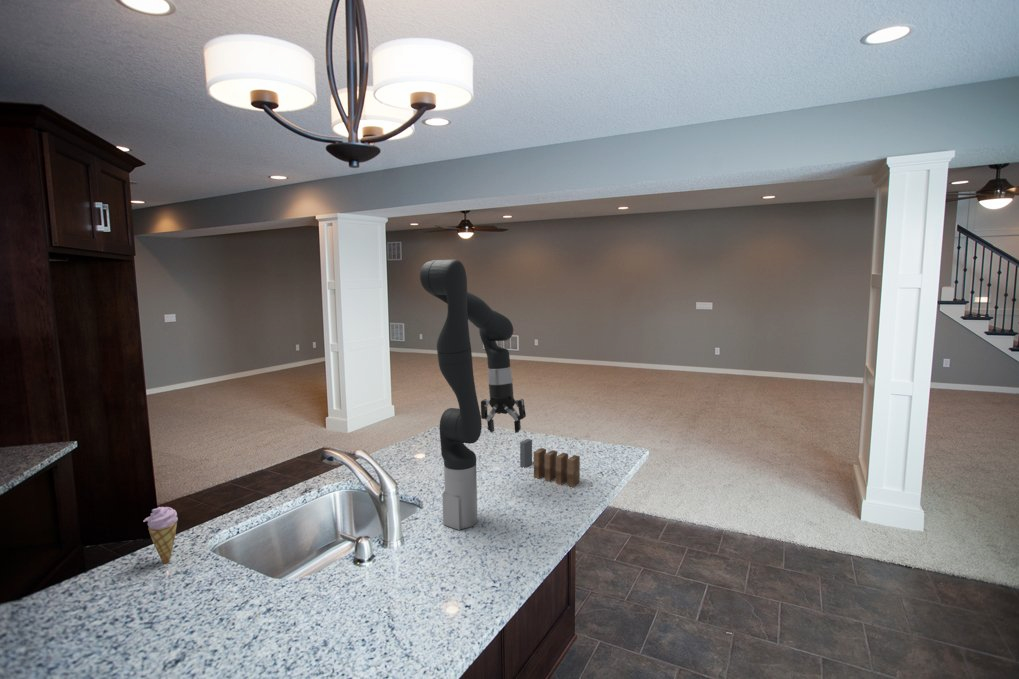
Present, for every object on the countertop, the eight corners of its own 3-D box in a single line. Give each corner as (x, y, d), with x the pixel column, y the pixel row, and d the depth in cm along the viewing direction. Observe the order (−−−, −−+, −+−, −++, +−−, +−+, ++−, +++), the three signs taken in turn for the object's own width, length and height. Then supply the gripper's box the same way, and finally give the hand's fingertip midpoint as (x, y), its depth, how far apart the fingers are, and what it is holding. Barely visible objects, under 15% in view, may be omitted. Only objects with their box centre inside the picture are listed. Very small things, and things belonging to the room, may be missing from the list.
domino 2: (538, 479, 179) (538, 452, 178) (533, 477, 181) (533, 451, 179) (546, 474, 183) (546, 448, 182) (541, 473, 185) (541, 447, 183)
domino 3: (549, 481, 177) (549, 455, 176) (544, 480, 178) (544, 454, 177) (557, 477, 181) (556, 451, 180) (552, 476, 182) (552, 450, 181)
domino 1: (524, 468, 190) (524, 443, 189) (520, 466, 191) (520, 442, 190) (532, 464, 194) (532, 439, 193) (527, 462, 195) (527, 438, 194)
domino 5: (572, 487, 171) (572, 460, 170) (567, 486, 173) (567, 459, 172) (579, 483, 175) (579, 456, 174) (574, 481, 177) (574, 455, 176)
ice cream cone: (144, 570, 125) (138, 512, 123) (154, 557, 131) (149, 501, 129) (175, 566, 126) (170, 508, 125) (184, 553, 132) (179, 498, 131)
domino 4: (560, 484, 174) (560, 457, 173) (555, 483, 175) (555, 456, 174) (568, 480, 178) (568, 453, 177) (563, 478, 179) (563, 452, 178)
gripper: (475, 384, 160) (479, 434, 162) (517, 383, 155) (522, 435, 157) (484, 380, 167) (488, 428, 169) (525, 379, 162) (529, 429, 164)
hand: (504, 431), depth 163 cm, fingers open, 8 cm apart
